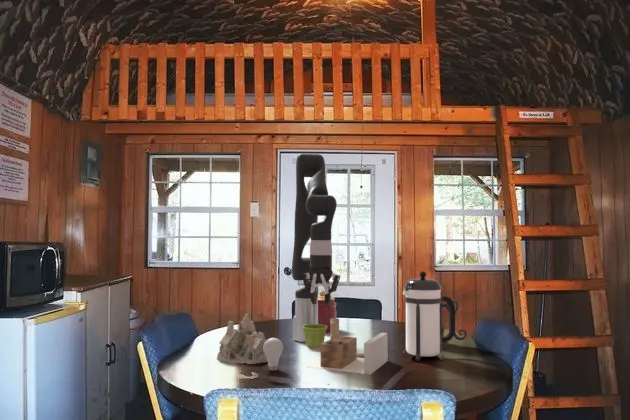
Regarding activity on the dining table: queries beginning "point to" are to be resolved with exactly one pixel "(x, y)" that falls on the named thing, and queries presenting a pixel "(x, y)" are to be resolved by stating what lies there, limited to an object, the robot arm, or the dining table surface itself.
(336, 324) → the dowel
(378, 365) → the l-shaped bookend
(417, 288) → the coffee press
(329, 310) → the canister
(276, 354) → the lightbulb
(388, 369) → the dining table surface
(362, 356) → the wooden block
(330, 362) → the wooden square-hole block
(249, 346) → the ceramic cottage
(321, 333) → the plant pot
